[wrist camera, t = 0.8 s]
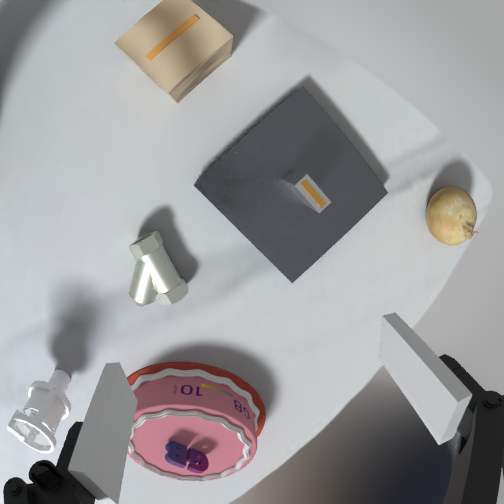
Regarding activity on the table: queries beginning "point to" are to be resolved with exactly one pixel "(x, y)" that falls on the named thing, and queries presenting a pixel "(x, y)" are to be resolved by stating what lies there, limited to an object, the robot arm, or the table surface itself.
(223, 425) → the cake
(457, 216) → the onion
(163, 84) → the taped cardboard box
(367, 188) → the grey piece
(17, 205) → the table surface
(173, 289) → the pipe fitting
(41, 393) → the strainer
